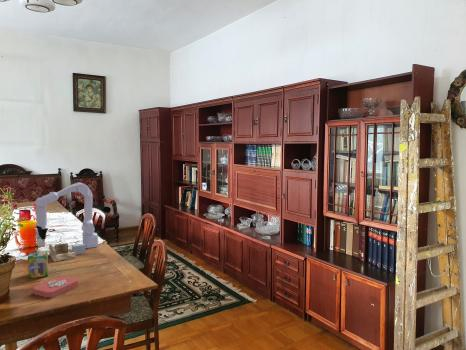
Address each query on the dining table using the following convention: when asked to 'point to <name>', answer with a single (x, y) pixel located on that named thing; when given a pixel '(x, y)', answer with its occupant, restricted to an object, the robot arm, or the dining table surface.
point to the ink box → (39, 240)
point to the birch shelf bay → (60, 256)
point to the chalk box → (37, 264)
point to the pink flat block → (55, 286)
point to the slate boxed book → (78, 248)
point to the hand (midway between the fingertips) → (42, 237)
